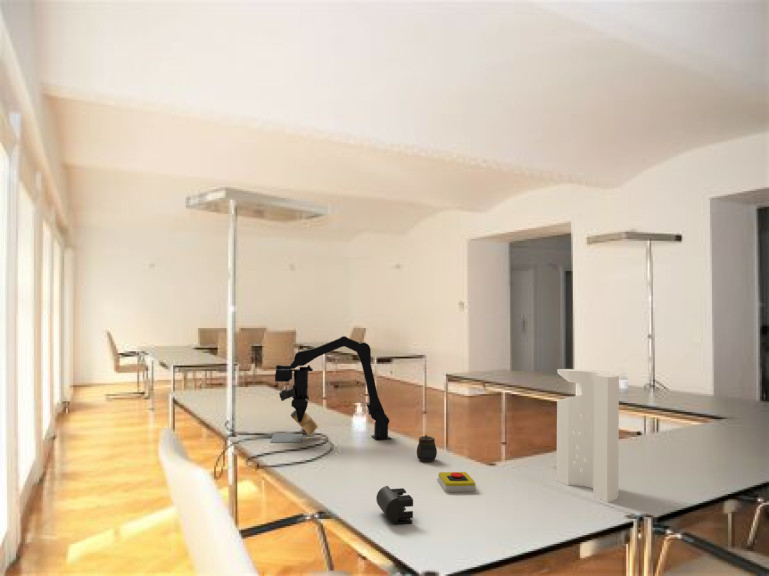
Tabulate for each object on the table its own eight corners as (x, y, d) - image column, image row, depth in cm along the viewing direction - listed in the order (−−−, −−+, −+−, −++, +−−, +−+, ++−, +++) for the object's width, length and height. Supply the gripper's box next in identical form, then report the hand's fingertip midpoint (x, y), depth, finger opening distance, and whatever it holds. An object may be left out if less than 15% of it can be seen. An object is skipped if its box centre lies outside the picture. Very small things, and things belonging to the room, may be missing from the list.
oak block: (318, 424, 229) (299, 405, 228) (317, 427, 224) (298, 407, 224) (309, 432, 228) (291, 413, 228) (309, 435, 224) (290, 415, 223)
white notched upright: (604, 502, 157) (554, 480, 176) (634, 497, 161) (582, 477, 180) (605, 377, 158) (555, 369, 177) (635, 376, 162) (583, 368, 182)
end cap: (375, 512, 146) (376, 486, 146) (401, 510, 148) (402, 484, 148) (385, 527, 136) (386, 499, 137) (413, 524, 138) (413, 497, 138)
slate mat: (302, 434, 232) (302, 434, 232) (301, 442, 219) (301, 442, 219) (273, 434, 231) (273, 434, 231) (270, 442, 217) (270, 442, 217)
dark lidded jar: (435, 457, 200) (436, 429, 201) (438, 463, 193) (438, 434, 193) (415, 457, 200) (416, 429, 201) (417, 463, 193) (418, 434, 193)
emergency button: (446, 481, 161) (436, 466, 176) (446, 496, 161) (435, 480, 176) (478, 480, 162) (464, 465, 177) (477, 495, 162) (464, 480, 177)
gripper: (282, 379, 235) (281, 416, 234) (278, 385, 216) (277, 425, 216) (309, 379, 236) (308, 416, 235) (307, 385, 217) (306, 425, 217)
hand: (300, 420), depth 226 cm, fingers closed on oak block, 4 cm apart
